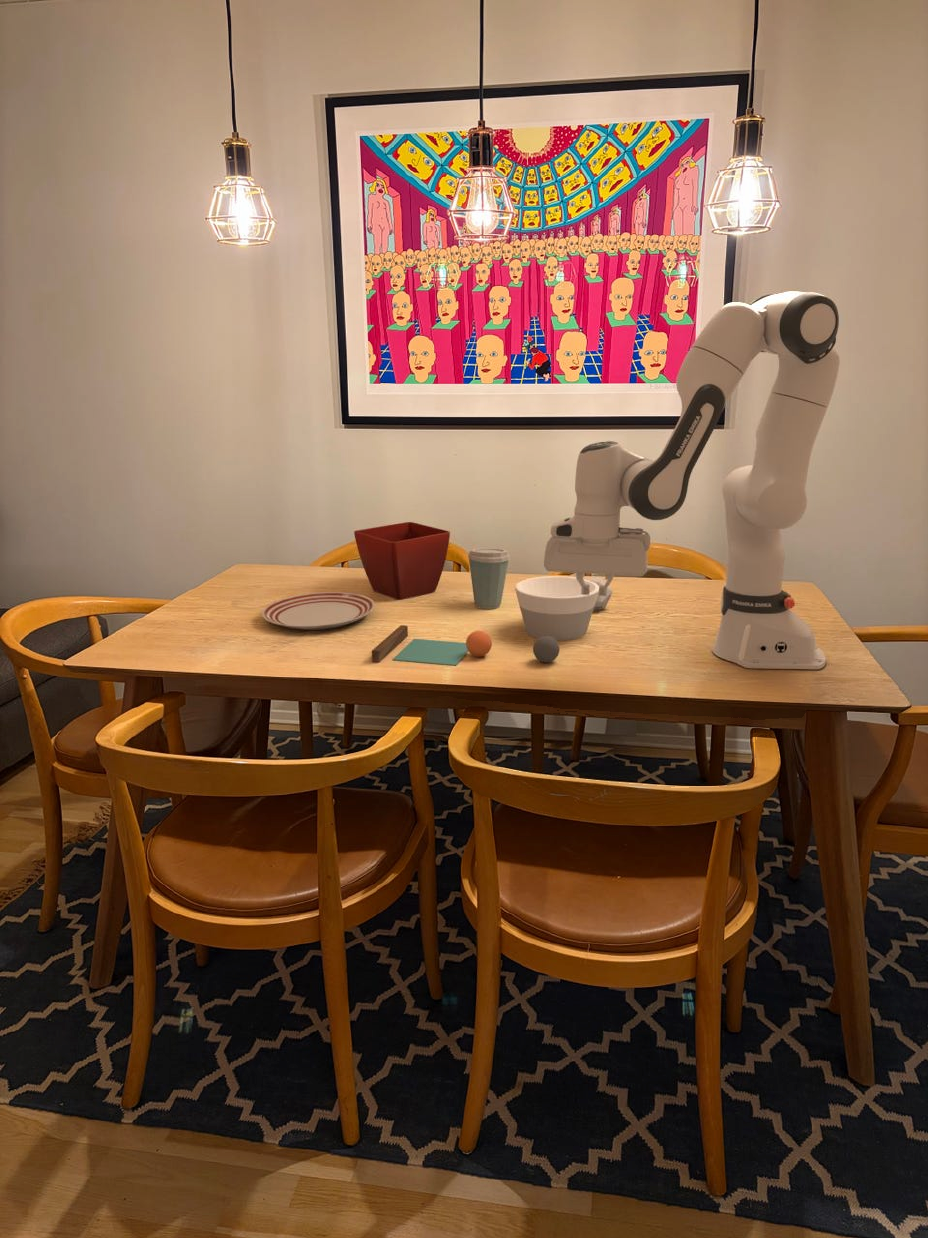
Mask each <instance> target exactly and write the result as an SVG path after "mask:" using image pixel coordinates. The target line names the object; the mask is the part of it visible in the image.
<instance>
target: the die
mask: <svg viewBox="0 0 928 1238" xmlns="http://www.w3.org/2000/svg"><path fill="white" fill-rule="evenodd" d="M583 579H585V580H589V581H591V582H594V583H596V584H597V585H598V586H599V587H600V585H603V586H604V585H605V583H606V581H605V580H604V579H603V578H602V576H597V577H589V578H588V577H587V578H585V577H583ZM599 592H600V591H599ZM599 592H598V596H597V599H596V603H595V606H594V609H593V611H600V610H601V611H602V610H606V607H607V605H608V603H609V601H610V599H611V596H612V594H613V593H614V592H613V590H612V589H611V587H610V585H609V586H608V587H607V596H599Z"/></svg>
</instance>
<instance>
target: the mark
mask: <svg viewBox="0 0 928 1238" xmlns="http://www.w3.org/2000/svg"><path fill="white" fill-rule="evenodd" d="M468 652H469V651H468V650H467V648H466V642H461V641H460V642H459V641H447V640H434V639H423V638H413V639H412V640H411V641H410V642H409V643H408V644H407V645H406V646H405V647H403V649H402V650H401V651H400V652H398V654H397V655H395V656H394V657H393V658H392V661H399V662H411V663H422V664H430V665H431V664H433V665H441V664H442V665H441V666H443V665H444V666H453V665H454V667H455V666H456V665H457V666H458V664H459V663H460V662H461V661H462V660H463V658H465V656H466V654H467V653H468ZM457 666H456V667H457Z"/></svg>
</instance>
